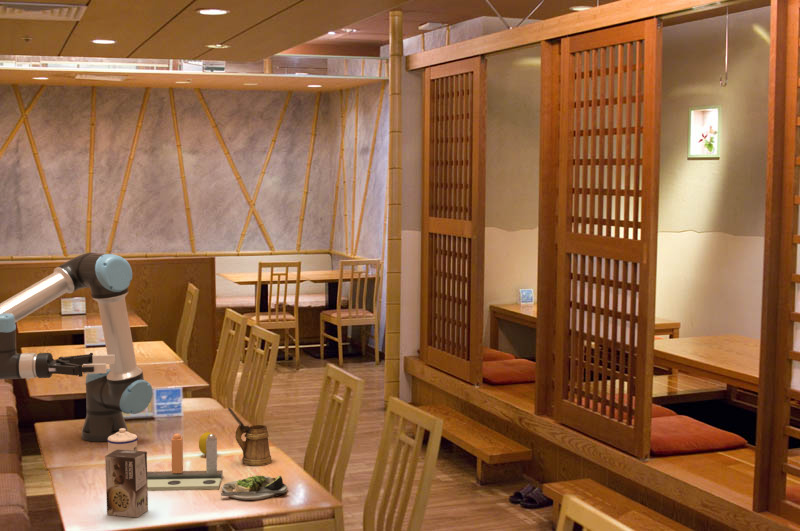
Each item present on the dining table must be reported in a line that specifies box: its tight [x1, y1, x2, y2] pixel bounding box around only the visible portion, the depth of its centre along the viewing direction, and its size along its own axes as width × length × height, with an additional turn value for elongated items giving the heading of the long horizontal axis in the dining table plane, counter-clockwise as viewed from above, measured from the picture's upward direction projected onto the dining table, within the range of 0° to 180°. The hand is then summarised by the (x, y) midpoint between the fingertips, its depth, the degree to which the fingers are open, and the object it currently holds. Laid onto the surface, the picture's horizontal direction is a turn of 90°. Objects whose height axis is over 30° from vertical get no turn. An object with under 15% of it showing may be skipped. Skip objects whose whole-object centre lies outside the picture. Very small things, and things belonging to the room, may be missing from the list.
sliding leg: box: [171, 432, 184, 473], centre depth 282 cm, size 3×3×12 cm
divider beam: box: [147, 433, 224, 481], centre depth 282 cm, size 3×27×14 cm, turn 95°
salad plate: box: [220, 474, 288, 501], centre depth 271 cm, size 19×18×5 cm
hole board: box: [147, 478, 222, 492], centre depth 276 cm, size 7×25×1 cm, turn 95°
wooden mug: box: [227, 407, 273, 467], centre depth 299 cm, size 9×14×18 cm, turn 106°
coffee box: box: [104, 450, 149, 518], centre depth 253 cm, size 9×6×16 cm
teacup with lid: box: [106, 428, 139, 455], centre depth 296 cm, size 12×9×12 cm
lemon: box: [198, 431, 213, 456], centre depth 307 cm, size 6×6×8 cm
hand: (110, 363), depth 288 cm, fingers open, 13 cm apart
